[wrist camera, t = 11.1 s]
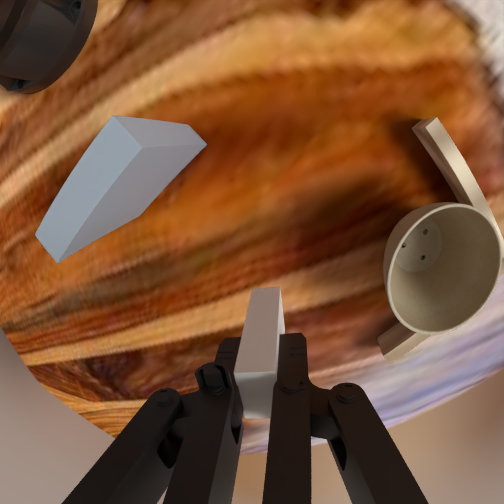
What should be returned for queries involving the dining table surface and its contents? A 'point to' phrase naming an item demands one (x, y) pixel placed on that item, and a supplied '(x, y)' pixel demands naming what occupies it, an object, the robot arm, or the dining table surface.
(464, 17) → the dining table surface
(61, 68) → the robot arm
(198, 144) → the pale blue rectangular prism
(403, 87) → the dining table surface
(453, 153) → the l-shaped bracket
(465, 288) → the flower pot
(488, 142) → the dining table surface
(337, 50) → the dining table surface
